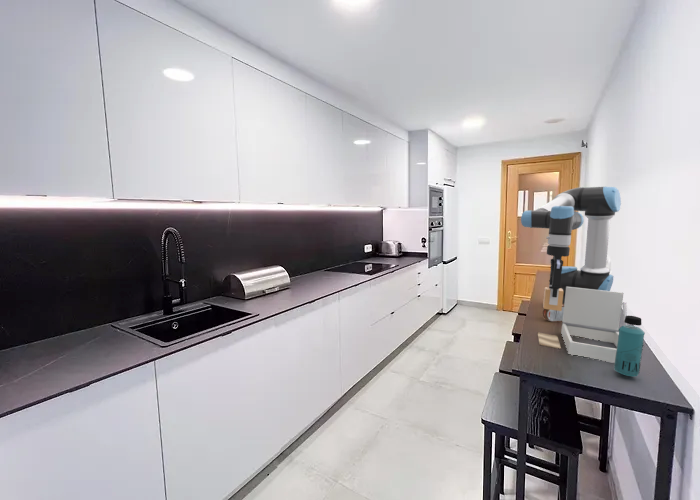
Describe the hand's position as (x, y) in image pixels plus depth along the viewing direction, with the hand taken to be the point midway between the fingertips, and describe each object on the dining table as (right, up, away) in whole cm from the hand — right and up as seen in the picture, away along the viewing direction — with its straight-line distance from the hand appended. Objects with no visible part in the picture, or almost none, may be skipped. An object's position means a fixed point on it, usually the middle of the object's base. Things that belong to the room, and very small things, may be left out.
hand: (552, 302), depth 132 cm
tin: (+19, -13, +26) cm, 35 cm away
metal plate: (0, -16, +2) cm, 16 cm away
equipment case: (+13, -17, -4) cm, 22 cm away
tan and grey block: (0, -2, 0) cm, 2 cm away
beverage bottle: (+8, -20, -25) cm, 33 cm away
